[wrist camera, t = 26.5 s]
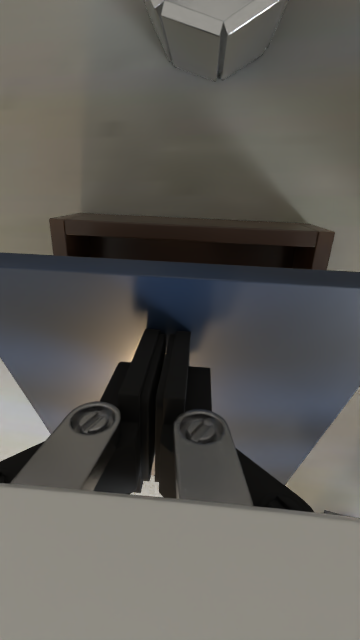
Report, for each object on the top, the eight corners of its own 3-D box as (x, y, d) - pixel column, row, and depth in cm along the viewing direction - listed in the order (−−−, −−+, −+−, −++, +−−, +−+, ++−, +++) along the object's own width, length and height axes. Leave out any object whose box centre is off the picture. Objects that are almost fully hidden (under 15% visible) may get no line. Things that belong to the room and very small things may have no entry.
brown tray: (79, 212, 20) (48, 218, 16) (309, 223, 19) (335, 232, 15) (96, 417, 27) (77, 457, 23) (269, 432, 26) (280, 476, 22)
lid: (-48, 249, 10) (-63, 263, 10) (419, 274, 9) (432, 292, 9) (76, 456, 23) (73, 468, 22) (281, 475, 22) (283, 487, 21)
